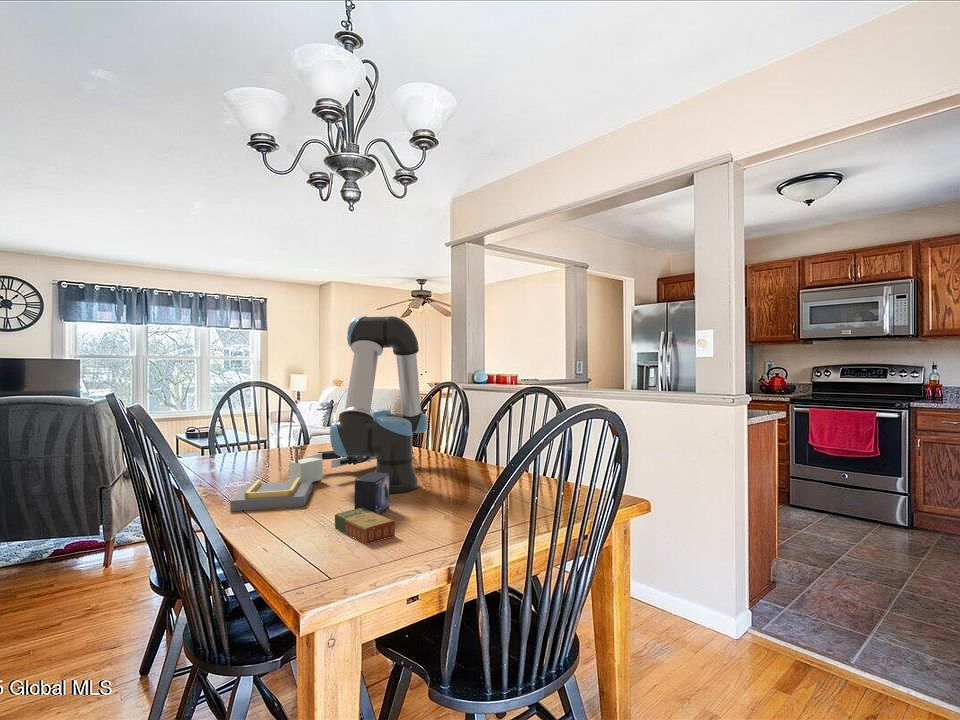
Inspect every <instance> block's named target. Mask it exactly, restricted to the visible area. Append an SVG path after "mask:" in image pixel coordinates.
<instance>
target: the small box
mask: <svg viewBox="0 0 960 720" xmlns="http://www.w3.org/2000/svg"><path fill="white" fill-rule="evenodd" d="M353 495H354V509H358V508H365V509H367V510H369V511H372V512H374V513H377V514H379V515H382V513H383V512H384V513H385V512H386V510H387V509H388V510H390V493H389V473H378V472H375V471H374V472H373V471H369V472H367V473H366V474H364V475H362V476H360V477H358V478H356V479H354V494H353ZM354 509H353V510H354ZM388 510H387V511H388ZM384 513H383V514H384Z"/></svg>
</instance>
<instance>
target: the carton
mask: <svg viewBox="0 0 960 720" xmlns="http://www.w3.org/2000/svg"><path fill="white" fill-rule="evenodd" d="M336 528H337V529H339V530H341V531H343V532H345V533H346V534H345V533H344V534H345V535H347V534H348V535H347V536H349V535H350V536H349V537H351V536H352V537H354V538H356V539H357V541H358V540H359V541H358V542H360V541H361V542H360V543H362V542H363V543H362V544H364V543H365V544H364V545H367V544H366V543H369V544H371V543H370V542H373V543H375V542H374V541H376V542H378V540H380V541H382V540H381V539H383V540H385V539H384V538H387V539H389V538H388V537H391V538H393V537H392V536H394V537H395V536H396V535H395V534H396V522H395V520H394V519H391V518H389V517H386V516H384V515H382V514H381V515H379V514H377V513H374V512H372V511H369V510H367V509H365V508H358V509H350V510H346V511H343V512H338V513H335V514H334V529H336ZM337 529H336V530H337ZM339 530H338V531H339ZM341 531H340V532H341ZM343 532H342V533H343ZM352 537H351V538H352ZM354 538H353V539H354ZM356 539H355V540H356Z"/></svg>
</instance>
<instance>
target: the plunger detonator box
mask: <svg viewBox="0 0 960 720" xmlns="http://www.w3.org/2000/svg"><path fill="white" fill-rule="evenodd" d="M291 448H292V449H293V450H294V460H293V461H292V460H291V461H289V466H288V467H289V481H295V480H296V479H297V477H300V481H307V480H312V483H314V482H316V483H318V484H320V483H321V482H322V480H323V479H324V477H323V476H324V475H323V474H324V473H323V472H324V471H323V467H324V466H323V460H322V459H318V458H312V457H311V458H306V457H305V458H302V459H299V450H301V449H302V448H301V446H297V445H293V446H292V447H291Z"/></svg>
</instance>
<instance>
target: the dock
mask: <svg viewBox="0 0 960 720" xmlns="http://www.w3.org/2000/svg"><path fill="white" fill-rule="evenodd" d="M312 491H313V482H312V480H307V481H300V477H297V479H296V480H295V481H290V480H289V481H275V482H273V481H272V482H262V479H261V478H260V479H257V480H256V481H255V482H254V483H253V482H252V483H246V484H245V486H244V487H243V488H242V489H241V490H240V491H239V492H238V493H236V495H235V496H233V497H232V499H230V501H229V503H230V504H229V505H230V508H229V510H230V511H229V512H243V511H242V510H244V511H255V510H256V511H257V509H259V510H272V509H271V508H275V509H285V507H290V508H300V507H299V506H304V505H306V504H307V502H308V499H309V497H310V496H311V493H312ZM306 501H307V502H306ZM305 503H306V504H305ZM304 507H305V506H304Z"/></svg>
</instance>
